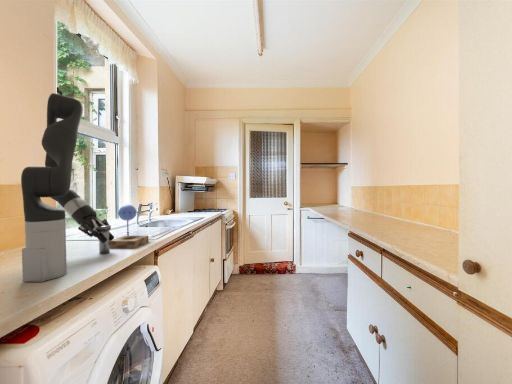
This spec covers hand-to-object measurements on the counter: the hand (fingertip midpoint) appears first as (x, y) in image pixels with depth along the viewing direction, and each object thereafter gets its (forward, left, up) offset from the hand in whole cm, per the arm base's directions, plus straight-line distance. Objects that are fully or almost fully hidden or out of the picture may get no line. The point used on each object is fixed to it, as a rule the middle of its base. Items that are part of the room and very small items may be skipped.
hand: (108, 240), depth 98 cm
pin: (0, +2, -5) cm, 6 cm away
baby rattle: (+27, +9, -5) cm, 29 cm away
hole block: (+14, 0, -5) cm, 15 cm away
